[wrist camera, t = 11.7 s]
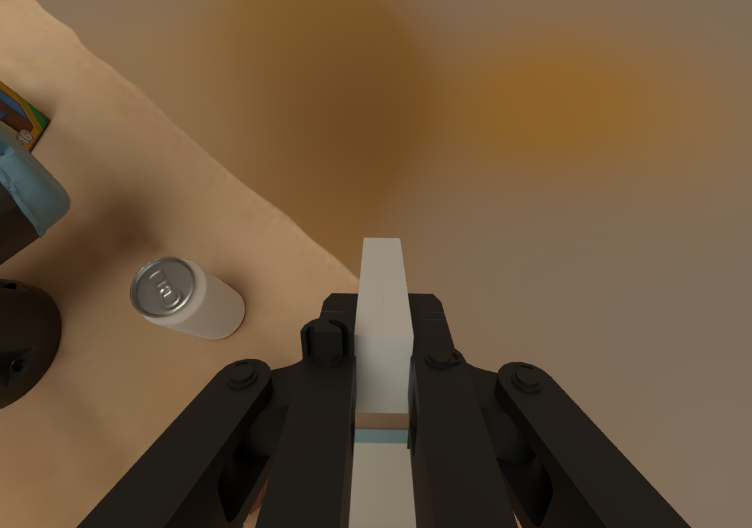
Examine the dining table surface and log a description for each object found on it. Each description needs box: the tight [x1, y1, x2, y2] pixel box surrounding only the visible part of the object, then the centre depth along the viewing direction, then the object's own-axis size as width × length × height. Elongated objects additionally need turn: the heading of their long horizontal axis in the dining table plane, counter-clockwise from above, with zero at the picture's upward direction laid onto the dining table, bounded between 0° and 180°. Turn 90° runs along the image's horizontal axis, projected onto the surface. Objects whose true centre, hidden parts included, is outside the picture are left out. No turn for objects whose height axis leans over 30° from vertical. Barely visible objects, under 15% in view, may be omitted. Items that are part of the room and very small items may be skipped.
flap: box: [354, 407, 409, 444], centre depth 28 cm, size 7×10×10 cm
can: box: [130, 257, 245, 340], centre depth 37 cm, size 6×6×12 cm
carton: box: [349, 443, 416, 528], centre depth 32 cm, size 14×10×10 cm
